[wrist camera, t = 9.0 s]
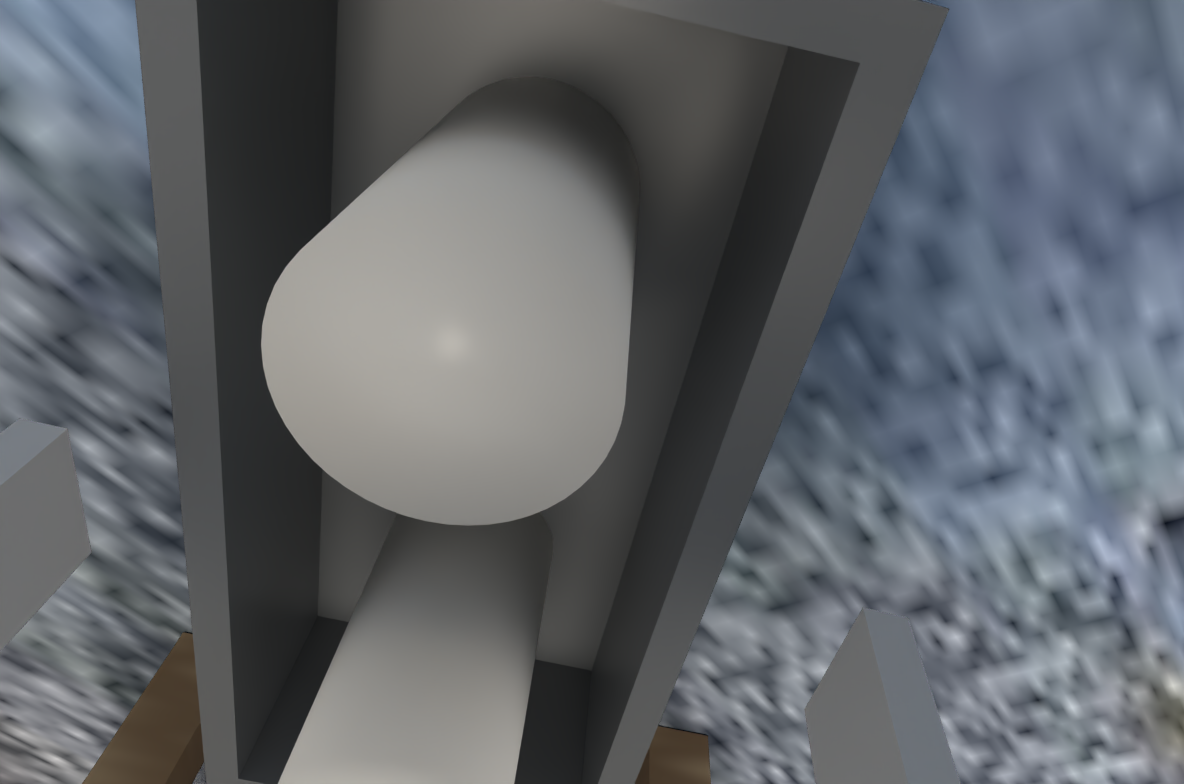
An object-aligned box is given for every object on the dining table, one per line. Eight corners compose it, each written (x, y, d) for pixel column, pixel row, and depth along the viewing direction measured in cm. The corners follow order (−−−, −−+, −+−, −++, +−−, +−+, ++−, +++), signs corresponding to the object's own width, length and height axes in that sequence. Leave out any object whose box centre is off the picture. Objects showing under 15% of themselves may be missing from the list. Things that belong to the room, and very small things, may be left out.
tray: (313, -153, 14) (-80, -236, 7) (846, -22, 15) (1047, 38, 7) (301, 608, 24) (143, 913, 17) (613, 671, 25) (593, 995, 17)
